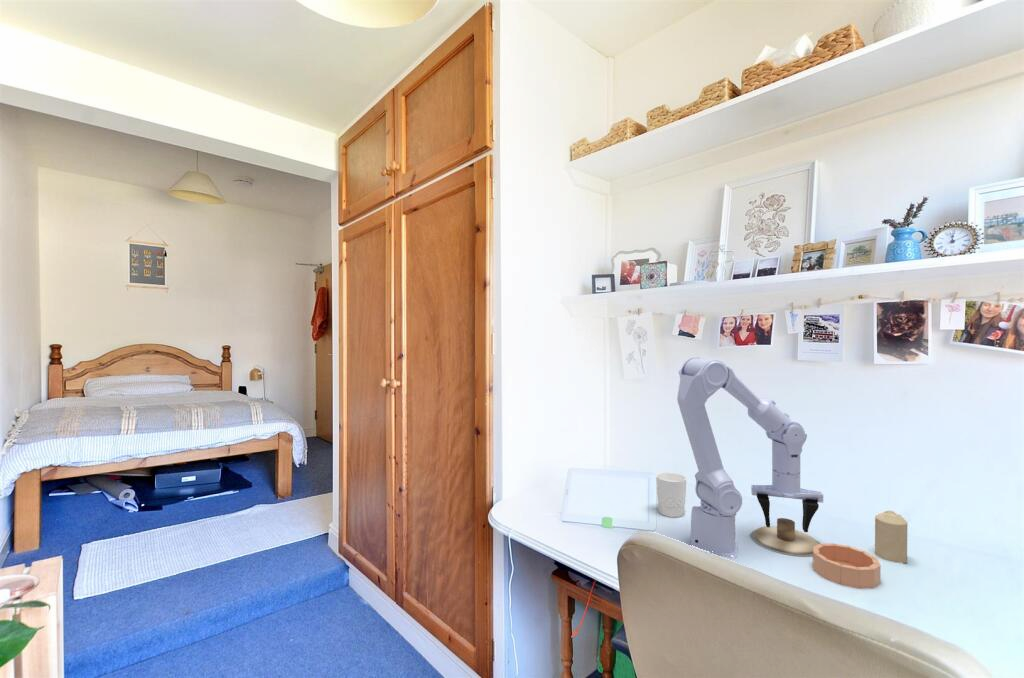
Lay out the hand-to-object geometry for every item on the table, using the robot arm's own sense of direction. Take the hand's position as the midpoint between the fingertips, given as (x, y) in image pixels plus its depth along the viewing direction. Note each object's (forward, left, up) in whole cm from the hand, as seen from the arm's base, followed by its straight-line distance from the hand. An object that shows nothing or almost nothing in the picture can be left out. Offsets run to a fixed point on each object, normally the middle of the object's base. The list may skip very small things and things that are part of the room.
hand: (786, 528), depth 110 cm
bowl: (+10, -11, -4) cm, 15 cm away
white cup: (-27, +7, -4) cm, 28 cm away
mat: (0, 0, -4) cm, 4 cm away
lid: (0, 0, -3) cm, 3 cm away
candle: (+20, +2, -4) cm, 20 cm away
